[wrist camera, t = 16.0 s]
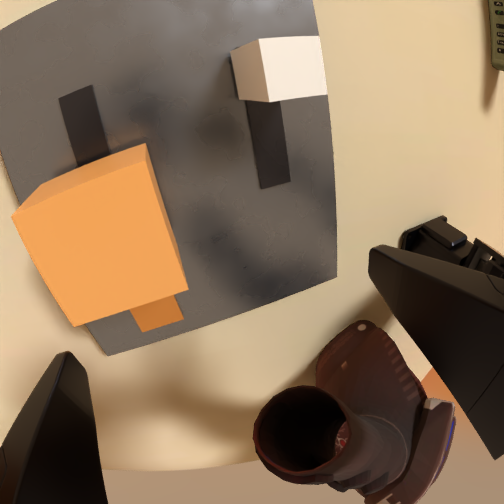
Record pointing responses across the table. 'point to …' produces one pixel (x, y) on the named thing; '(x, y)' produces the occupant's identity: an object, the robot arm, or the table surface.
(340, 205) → the table surface
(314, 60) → the switch
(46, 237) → the cap
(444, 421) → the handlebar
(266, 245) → the breaker panel
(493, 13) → the handheld radio
